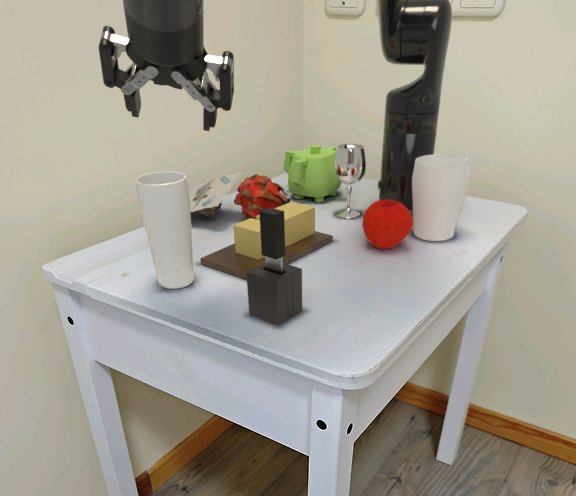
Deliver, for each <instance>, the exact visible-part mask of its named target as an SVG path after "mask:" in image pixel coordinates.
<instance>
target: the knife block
mask: <svg viewBox="0 0 576 496" xmlns="http://www.w3.org/2000/svg"><path fill="white" fill-rule="evenodd" d="M246 275H247V280H246V284H247V285H246V287H247V302H248V303H247V304H248V314H249V316H252V317H256V318H258V319H260V320H263V321H265V322H268V323H271V324H272V325H276V326H280V325H282V324H283V323H285V322H286V321H288V320H289V319H291V318H293V317H295V316H296V315H298V314H300V313H301V312H303V268H300V267H298V266H295V265H292V264H285V263H283V274H282V275H279V274H275V273H272V272H269V271H266V267H265V263H264V264H262V265H260V266H258V267H256V268H254V269H252V270H250V271H248V272H246Z"/></svg>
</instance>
